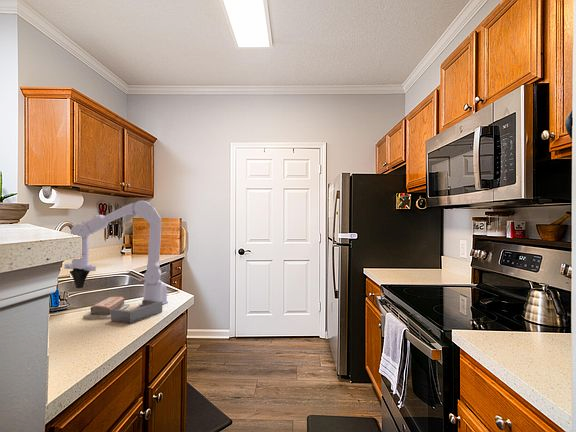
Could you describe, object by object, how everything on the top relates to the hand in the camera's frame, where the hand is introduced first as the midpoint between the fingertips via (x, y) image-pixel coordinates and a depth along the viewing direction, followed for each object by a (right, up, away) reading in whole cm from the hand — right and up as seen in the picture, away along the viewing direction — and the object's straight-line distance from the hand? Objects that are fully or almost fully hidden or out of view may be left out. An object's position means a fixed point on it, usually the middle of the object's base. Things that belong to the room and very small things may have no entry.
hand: (79, 287), depth 143 cm
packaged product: (+14, -9, -5) cm, 17 cm away
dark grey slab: (+27, -9, -9) cm, 30 cm away
